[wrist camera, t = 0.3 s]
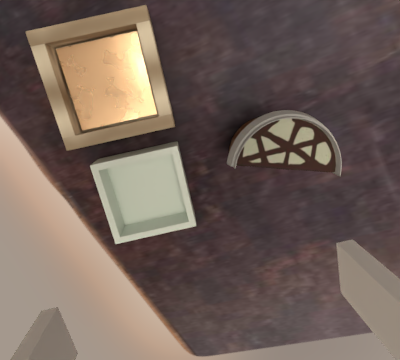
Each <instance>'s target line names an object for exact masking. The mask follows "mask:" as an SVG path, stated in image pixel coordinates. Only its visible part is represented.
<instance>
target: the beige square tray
mask: <svg viewBox="0 0 400 360" xmlns="http://www.w3.org/2000/svg"><path fill="white" fill-rule="evenodd" d="M135 31H137V33H138V37H139V41H140V45H141V49H142V53H143V57H144V61H145V65H146V69H147V73H148V77H149V81H150V85H151V89H152V93H153V97H154V101H155V105H156V109H157V113H158V114H154V115H150V116H145V117H141V118H136V119H132V120H127V121H123V122H118V123H114V124H110V125H105V126H101V127H96V128H92V129H87V130H83V131H82V128H81V125H80V122H79V119H78V116H77V113H76V110H75V107H74V104H73V101H72V97H71V94H70V91H69V88H68V85H67V82H66V79H65V76H64V73H63V70H62V67H61V64H60V61H59V58H58V55H57V51H56V49H58V48H63V47H67V46H72V45H76V44H81V43H85V42H90V41H94V40H99V39H103V38H108V37H112V36H117V35H121V34H126V33H130V32H135ZM26 35H27V38H28V41H29V44H30V46H31V49H32V52H33V55H34V58H35V61H36V64H37V67H38V69H39V72H40V75H41V78H42V81H43V84H44V87H45V90H46V92H47V95H48V98H49V101H50V104H51V107H52V110H53V113H54V115H55V118H56V121H57V124H58V127H59V130H60V133H61V136H62V138H63V141H64V144H65V147H66V150H67V151H68V150H73V149H77V148H82V147H86V146H91V145H95V144H100V143H104V142H109V141H113V140H118V139H122V138H127V137H131V136H136V135H140V134H145V133H149V132H154V131H158V130H162V129H167V128H171V127H175V121H174V117H173V112H172V108H171V104H170V100H169V95H168V91H167V87H166V83H165V78H164V74H163V70H162V66H161V61H160V57H159V53H158V49H157V44H156V40H155V36H154V32H153V27H152V23H151V19H150V15H149V12H148V9H147V6H146V5H143V6H139V7H134V8H130V9H125V10H121V11H116V12H112V13H107V14H103V15H98V16H94V17H89V18H85V19H80V20H76V21H71V22H67V23H62V24H58V25H53V26H49V27H44V28H39V29H35V30H30V31H26Z"/></svg>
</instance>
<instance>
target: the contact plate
mask: <svg viewBox="0 0 400 360" xmlns="http://www.w3.org/2000/svg"><path fill="white" fill-rule="evenodd" d="M56 51H57V55H58V58H59V61H60V64H61V67H62V70H63V73H64V76H65V79H66V82H67V85H68V88H69V91H70V94H71V97H72V101H73V104H74V107H75V110H76V113H77V116H78V119H79V122H80V125H81V128H82V131H83V130H87V129H92V128H96V127H101V126H105V125H110V124H114V123H118V122H123V121H127V120H132V119H136V118H141V117H145V116H150V115H154V114H158V113H157V109H156V105H155V101H154V97H153V93H152V89H151V85H150V81H149V77H148V73H147V69H146V65H145V61H144V57H143V53H142V49H141V45H140V41H139V37H138V33H137V31H135V32H130V33H126V34H121V35H117V36H112V37H108V38H103V39H99V40H94V41H90V42H85V43H81V44H76V45H72V46H67V47H63V48H58V49H56Z"/></svg>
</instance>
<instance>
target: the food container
mask: <svg viewBox="0 0 400 360" xmlns="http://www.w3.org/2000/svg"><path fill="white" fill-rule="evenodd" d="M227 164H228V165H230V166H231V167H234V168H236V165H240V166H255V167H267V168H277V169H287V170H306V171H320V172H332V173H334V174H336V175H339V176H341V170H342V160H341V154H340V150H339V147H338V145H337V142H336V140H335V138H334V137H333V135H332V134H331V132H330V131H329V130H328V129H327V128H326V127H325V126H324V125H323V124H322V123H320V122H319V121H318V120H317V119H315V118H313V117H312V116H310V115H308V114H305V113H302V112H299V111H293V110H280V111H274V112H271V113H268V114H265V115H263V116H261V117H258V118H255V119H252V120H250V121H248V122H246V123H245V124H243V125H242V126H241V127H240V128H239V129H238V130H237V132H236V133H235V134H234V136H233V138H232V140H231V143H230V146H229V155H228V159H227Z"/></svg>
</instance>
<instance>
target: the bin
mask: <svg viewBox="0 0 400 360" xmlns="http://www.w3.org/2000/svg"><path fill="white" fill-rule="evenodd" d="M90 168H91V171H92V174H93V177H94V180H95V183H96V186H97V189H98V192H99V195H100V198H101V201H102V204H103V207H104V210H105V213H106V216H107V219H108V222H109V225H110V228H111V231H112V234H113V237H114V240H115V243H116V244H119V243H123V242H127V241H132V240H136V239H141V238H145V237H150V236H154V235H159V234H163V233H167V232H172V231H176V230H181V229H185V228H190V227H194V226H196V219H195V212H194V208H193V204H192V200H191V195H190V191H189V187H188V183H187V179H186V174H185V170H184V166H183V162H182V157H181V153H180V149H179V145H178V141H175V142H171V143H166V144H162V145H158V146H153V147H149V148H144V149H140V150H135V151H131V152H126V153H122V154H117V155H113V156H108V157H104V158H99V159H98V160H96V161H95V162H94V163H92V164H91V165H90Z"/></svg>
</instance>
